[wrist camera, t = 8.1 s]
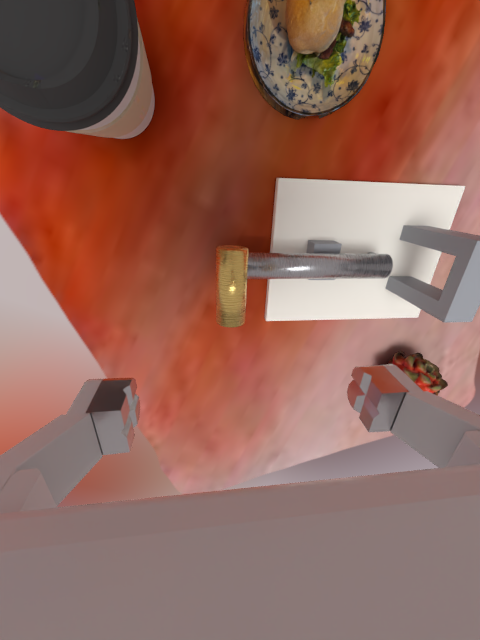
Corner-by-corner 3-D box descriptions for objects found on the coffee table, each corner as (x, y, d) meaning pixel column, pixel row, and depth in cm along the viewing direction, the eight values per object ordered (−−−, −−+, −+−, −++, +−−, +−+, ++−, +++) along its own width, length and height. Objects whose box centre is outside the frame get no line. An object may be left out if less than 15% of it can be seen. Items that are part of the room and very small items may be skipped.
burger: (348, 132, 27) (395, 116, 21) (233, 105, 25) (244, 78, 19) (396, -42, 22) (478, -136, 16) (256, -93, 20) (283, -227, 14)
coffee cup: (71, -11, 21) (-167, -363, 7) (183, 67, 23) (158, -84, 10) (44, 116, 24) (-156, 32, 10) (146, 172, 27) (90, 162, 13)
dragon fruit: (393, 329, 41) (381, 382, 48) (367, 362, 36) (357, 415, 43) (463, 352, 35) (437, 408, 42) (441, 394, 31) (417, 449, 38)
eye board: (264, 317, 35) (286, 365, 26) (276, 178, 28) (312, 175, 19) (412, 314, 38) (480, 356, 29) (457, 186, 31) (567, 187, 22)
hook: (212, 285, 31) (217, 327, 22) (212, 229, 28) (216, 251, 19) (370, 284, 33) (433, 322, 24) (384, 233, 30) (460, 253, 21)
